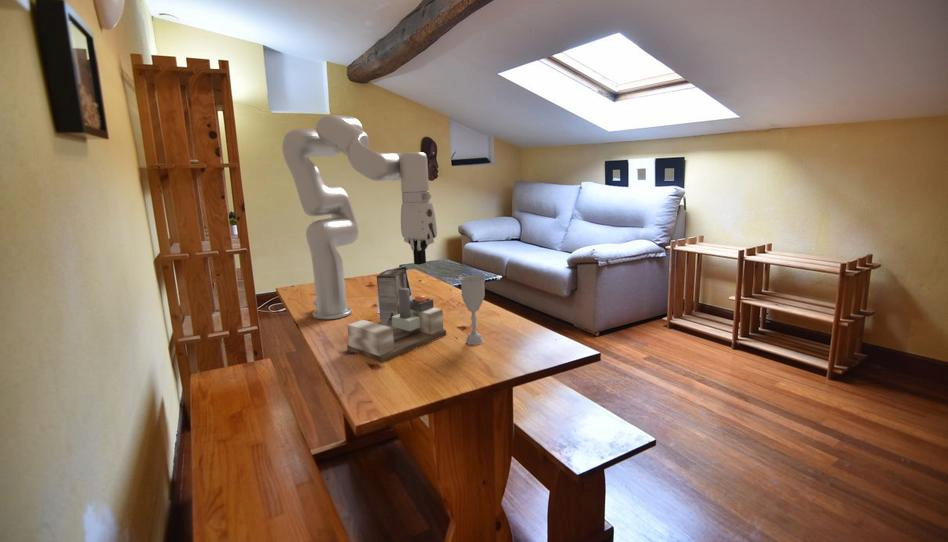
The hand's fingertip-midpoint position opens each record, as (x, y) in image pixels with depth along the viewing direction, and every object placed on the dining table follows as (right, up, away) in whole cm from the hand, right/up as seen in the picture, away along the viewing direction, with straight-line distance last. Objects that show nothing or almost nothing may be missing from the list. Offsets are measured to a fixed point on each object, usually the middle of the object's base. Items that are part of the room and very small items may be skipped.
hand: (420, 263), depth 138 cm
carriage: (-4, -18, -1) cm, 18 cm away
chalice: (+15, -22, -3) cm, 27 cm away
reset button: (0, -12, +3) cm, 12 cm away
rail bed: (-6, -22, -2) cm, 23 cm away
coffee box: (-10, -18, +15) cm, 26 cm away
